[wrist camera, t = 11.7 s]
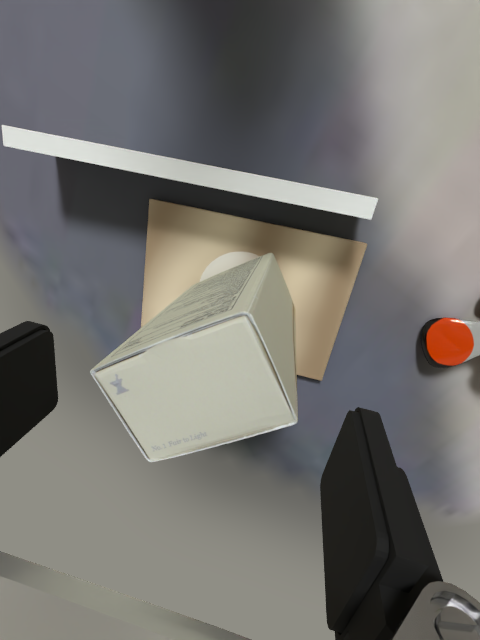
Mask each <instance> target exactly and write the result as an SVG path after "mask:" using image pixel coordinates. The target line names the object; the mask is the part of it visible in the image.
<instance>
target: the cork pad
mask: <svg viewBox="0 0 480 640" xmlns="http://www.w3.org/2000/svg"><path fill="white" fill-rule="evenodd" d="M366 247H367V244H366V243H363V242H358V241H354V240H349V239H344V238H339V237H334V236H329V235H325V234H320V233H315V232H310V231H305V230H301V229H296V228H291V227H286V226H281V225H277V224H272V223H267V222H262V221H257V220H252V219H248V218H243V217H238V216H233V215H228V214H224V213H219V212H214V211H209V210H204V209H199V208H195V207H190V206H185V205H180V204H175V203H171V202H166V201H161V200H156V199H149V214H148V229H147V244H146V259H145V274H144V290H143V305H142V320H141V328H142V327H143V326H144V325H145V324H147V323H148V322H149V321H150V320H151V319H153V318H154V317H155V316H156V315H158V314H159V313H160V312H161V311H162V310H164V309H165V308H166V307H167V306H168V305H170V304H171V303H172V302H173V301H174V300H176V299H177V298H178V297H179V296H180V295H182V294H183V293H184V292H185V291H186V290H188V289H189V288H190V287H191V286H192V285H194V284H196V283H199V282H201V281H203V280H205V279H207V278H210V277H212V276H214V275H216V274H219V273H221V272H223V271H226V270H228V269H230V268H233V267H235V266H238V265H240V264H243V263H245V262H247V261H250V260H252V259H255V258H257V257H260V256H263V255H265V254H268V253H273V254H274V256H275V258H276V261H277V263H278V265H279V268H280V270H281V273H282V275H283V278H284V280H285V283H286V285H287V288H288V290H289V293H290V295H291V298H292V301H293V304H294V306H295V321H296V323H295V324H296V367H297V375H300V376H304V377H308V378H312V379H317V380H321V381H322V378H323V375H324V372H325V369H326V366H327V363H328V360H329V357H330V354H331V351H332V348H333V345H334V342H335V339H336V336H337V333H338V330H339V327H340V324H341V321H342V318H343V315H344V312H345V309H346V306H347V303H348V300H349V297H350V294H351V291H352V288H353V285H354V282H355V279H356V276H357V273H358V270H359V267H360V264H361V262H362V259H363V256H364V253H365V250H366Z"/></svg>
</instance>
